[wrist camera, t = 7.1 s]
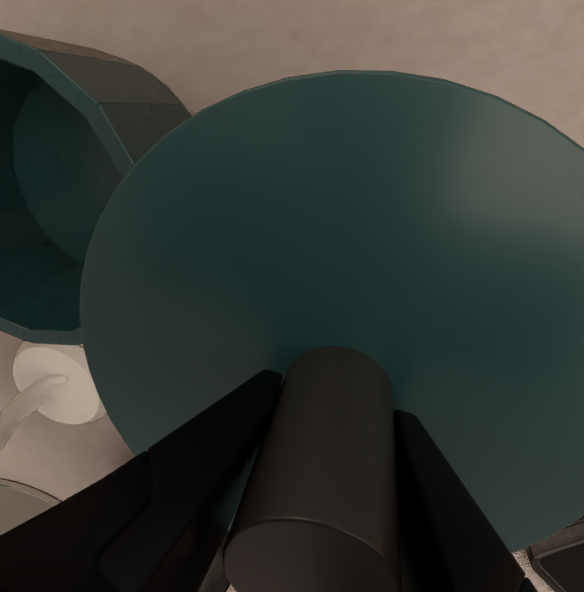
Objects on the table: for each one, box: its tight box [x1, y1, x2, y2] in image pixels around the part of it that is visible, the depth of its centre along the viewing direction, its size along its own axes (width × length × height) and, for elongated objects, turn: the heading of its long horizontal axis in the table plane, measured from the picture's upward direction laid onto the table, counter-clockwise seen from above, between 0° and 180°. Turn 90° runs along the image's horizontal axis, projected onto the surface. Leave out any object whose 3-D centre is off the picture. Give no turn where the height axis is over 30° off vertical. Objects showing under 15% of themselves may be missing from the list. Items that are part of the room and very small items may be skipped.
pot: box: [0, 29, 191, 346], centre depth 18 cm, size 11×11×6 cm
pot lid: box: [80, 70, 584, 592], centre depth 8 cm, size 12×12×5 cm
